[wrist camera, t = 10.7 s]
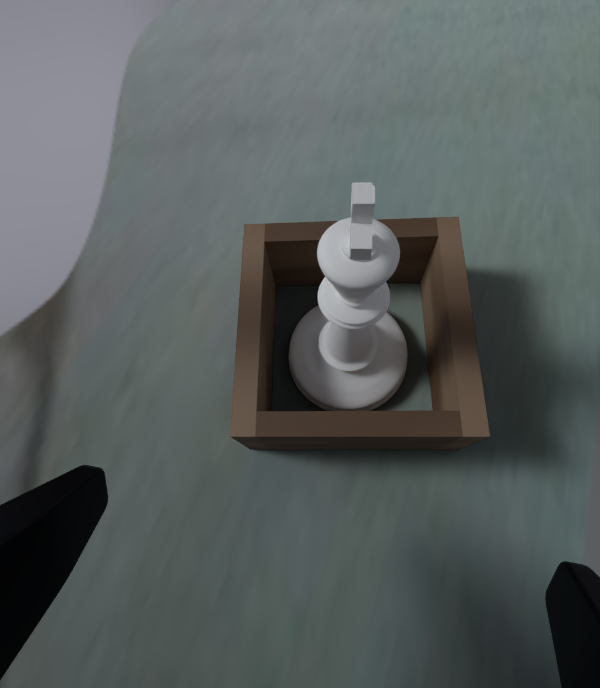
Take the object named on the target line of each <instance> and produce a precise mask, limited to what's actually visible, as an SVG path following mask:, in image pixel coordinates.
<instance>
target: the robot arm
mask: <svg viewBox="0 0 600 688" xmlns="http://www.w3.org/2000/svg"><path fill="white" fill-rule="evenodd" d="M107 503H108V493H107V486H106V479H105V473H104V471H103V469H102V468H99V467H94V466H89V465H82V466H79V467H77V468H75V469H73V470H71V471H69V472H67V473H65V474H63V475H61V476H59V477H57V478H55V479H53V480H51V481H48V482H46V483H44V484H42V485H40V486H38V487H36V488H34V489H32V490H30V491H28V492H26V493H24V494H22V495H20V496H18V497H16V498H14V499H12V500H10V501H8V502H5V503H3V504H1V505H0V680H1V678H2V677H3V675H4V674H5V672H6V671H7V669H8V668H9V666H10V665H11V663H12V662H13V660H14V659H15V657H16V656H17V654H18V653H19V651H20V650H21V648H22V647H23V645H24V644H25V642H26V641H27V639H28V638H29V636H30V635H31V633H32V632H33V630H34V629H35V627H36V626H37V624H38V623H39V621H40V620H41V618H42V617H43V615H44V614H45V612H46V611H47V609H48V608H49V606H50V605H51V603H52V602H53V600H54V599H55V597H56V596H57V594H58V593H59V591H60V590H61V588H62V587H63V585H64V583H65V582H66V580H67V579H68V577H69V575H70V573H71V572H72V570H73V568H74V566H75V565H76V563H77V561H78V559H79V557H80V555H81V553H82V552H83V550H84V548H85V546H86V544H87V542H88V540H89V539H90V537H91V535H92V533H93V531H94V529H95V527H96V526H97V524H98V522H99V520H100V518H101V516H102V514H103V513H104V511H105V509H106V506H107ZM546 607H547V612H548V618H549V623H550V628H551V634H552V639H553V644H554V650H555V655H556V660H557V665H558V671H559V676H560V681H561V686H562V688H600V577H599V576H598V575H597V574H596V573H595V572H594V571H593V570H591V569H590V568H589V567H588V566H585V565H582V564H577V563H572V562H567V561H563V562H562V563H560V564H559V566H558V567H557V569H556V572H555V574H554V576H553V578H552V580H551V582H550V584H549V586H548V588H547V591H546Z"/></svg>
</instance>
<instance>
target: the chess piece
mask: <svg viewBox="0 0 600 688" xmlns="http://www.w3.org/2000/svg"><path fill="white" fill-rule="evenodd" d="M374 207H375V186H372V183H352V194H351V217H350V218H346V219H343V220H340V221H338V222H336V223H335V224H333V225H332V226H330V227H329V228H328V229H327V230H326V231H325V232H324V234H323V235H322V237H321V239H320V241H319V244H318V249H317V258H318V263H319V266H320V268H321V270H322V272H323V274H324V275H325V277H324V279H323V280H322V282H321V284H320V286H319V290H318V304H319V305H318V306H316V307H314V308H313V309H312V310H310V311H309V312H308V313H307V314H306V315H305V316H304V317H303V318H302V319H301V320H300V321H299V323H298V324H297V326H296V328H295V330H294V332H293V334H292V337H291V341H290V346H289V354H288V361H289V368H290V372H291V375H292V378H293V380H294V382H295V384H296V386H297V387H298V389H299V390H300V391H301V393H302V394H303V395H304V396H305V397H306V398H307V399H308V400H310V401H311V402H312V403H314V404H315V405H317V406H318V407H320V408H322V409H325V410H327V411H370V410H373V409H375V408H377V407H379V406H380V405H382V404H384V403H385V402H386V401H387V400H389V399H390V398H391V397H392V396H393V395H394V394H395V392H396V391H397V390H398V388H399V387H400V385H401V383H402V381H403V379H404V376H405V373H406V368H407V356H408V353H407V344H406V340H405V337H404V334H403V332H402V330H401V328H400V326H399V325H398V323H397V322H396V321H395V319H394V318H393V317H392V316H391V315H390V314H389V313H388V312H386V311H387V309H388V307H389V303H390V291H389V288H388V285H387V283H386V281H387V280H388V279H389V278H390V277H391V276H392V275H393V273H394V272H395V270H396V268H397V266H398V263H399V259H400V248H399V243H398V241H397V238H396V237H395V235H394V233H393V232H392V231H391V230H390V229H389V228H388V227H387V226H386V225H384V224H383V223H381V222H379V221H377V220H375V219H373V214H374Z"/></svg>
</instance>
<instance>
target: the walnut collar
mask: <svg viewBox="0 0 600 688" xmlns="http://www.w3.org/2000/svg"><path fill="white" fill-rule="evenodd" d="M377 221H379V222H381V223H383V224H384V225H386V226H387V227H388V228H389V229H390V230H391V231H392V232H393V233H394V235H395V237H396V238H397V241H398V243H399V248H400V259H399V263H398V266H397V268H396V270H395V272H394V273H393V275H392V276H391V277H390V278H389V279H388V280H387V281H386V283H415V282H420V286H421V296H422V306H423V316H424V326H425V336H426V347H427V357H428V367H429V377H430V387H431V397H432V407H433V411H272V387H273V358H274V328H275V298H276V286H296V285H320V284H321V282H322V280H323V279H324V277H325V275H324V274H323V272H322V270H321V268H320V266H319V263H318V258H317V249H318V244H319V241H320V239H321V237H322V235H323V234H324V232H325V231H326V230H327V229H328V228H329V227H330V226H332V225H333V224H335V223H336V222H338V221H327V222H299V223H271V224H244V236H243V251H242V267H241V282H240V297H239V312H238V327H237V342H236V357H235V372H234V387H233V402H232V417H231V432H230V437H232V438H233V439H235V440H236V441H238V442H240V443H241V444H243V445H244V446H246V447H247V448H249V449H358V450H459V449H461V448H464V447H466V446H468V445H471V444H473V443H476V442H478V441H481V440H483V439H485V438H488V437H490V433H489V426H488V419H487V412H486V405H485V398H484V391H483V384H482V377H481V370H480V363H479V356H478V349H477V342H476V335H475V328H474V321H473V314H472V307H471V300H470V293H469V286H468V279H467V272H466V265H465V258H464V251H463V244H462V237H461V230H460V223H459V217H439V218H411V219H383V220H377Z"/></svg>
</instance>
